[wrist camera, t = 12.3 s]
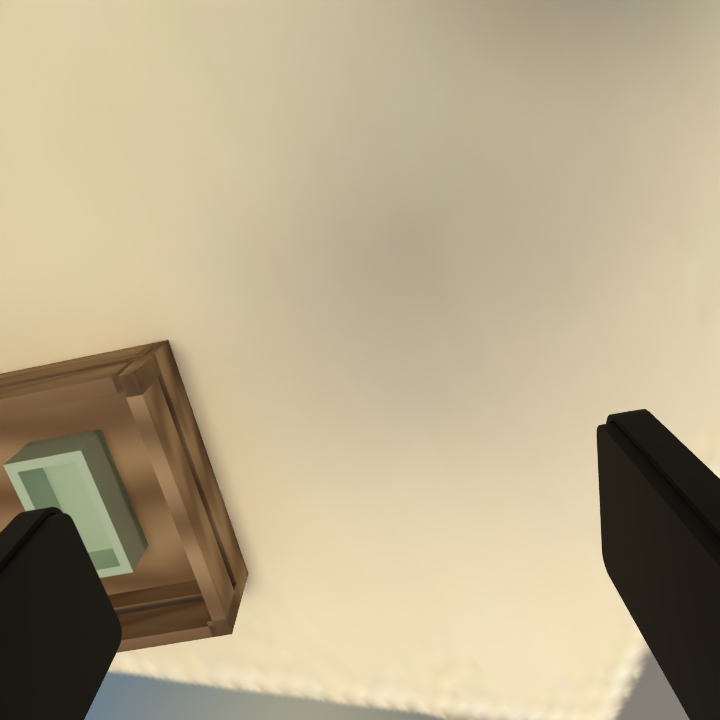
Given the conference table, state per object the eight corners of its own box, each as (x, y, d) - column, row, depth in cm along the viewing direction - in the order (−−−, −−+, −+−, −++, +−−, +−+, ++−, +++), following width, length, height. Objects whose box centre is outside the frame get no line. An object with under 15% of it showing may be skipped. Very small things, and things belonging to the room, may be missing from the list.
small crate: (28, 442, 40) (2, 465, 37) (100, 429, 39) (80, 450, 36) (81, 556, 43) (61, 584, 40) (148, 544, 43) (133, 572, 40)
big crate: (-78, 389, 39) (-151, 429, 34) (167, 340, 38) (134, 372, 32) (36, 609, 46) (-9, 672, 40) (248, 573, 45) (231, 634, 39)
